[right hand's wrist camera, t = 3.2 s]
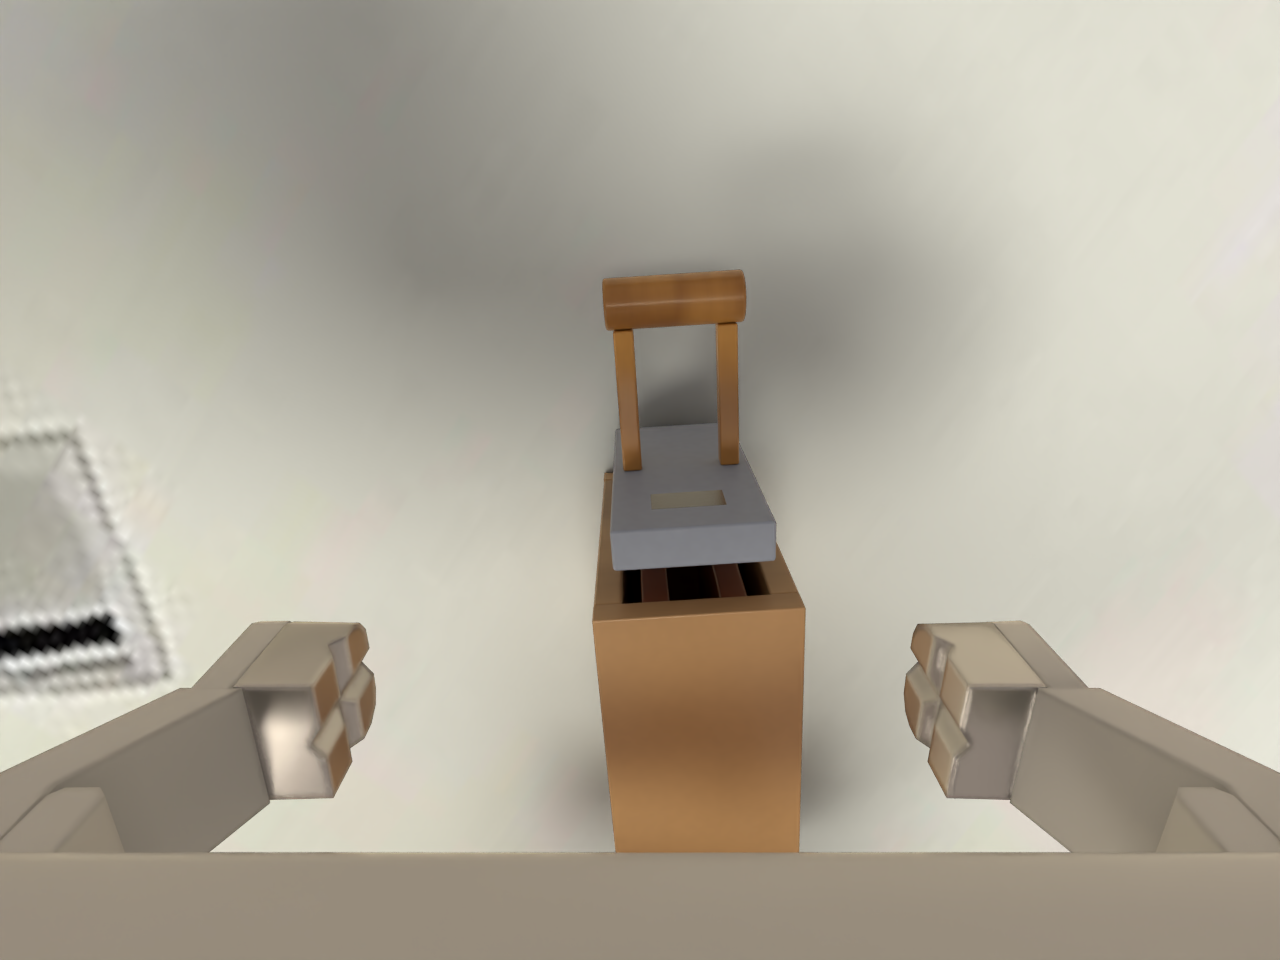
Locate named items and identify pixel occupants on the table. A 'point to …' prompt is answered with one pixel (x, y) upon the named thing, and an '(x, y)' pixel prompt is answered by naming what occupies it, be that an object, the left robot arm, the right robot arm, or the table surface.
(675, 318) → the drawer
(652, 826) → the cabinet
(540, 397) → the table surface
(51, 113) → the table surface
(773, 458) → the table surface
